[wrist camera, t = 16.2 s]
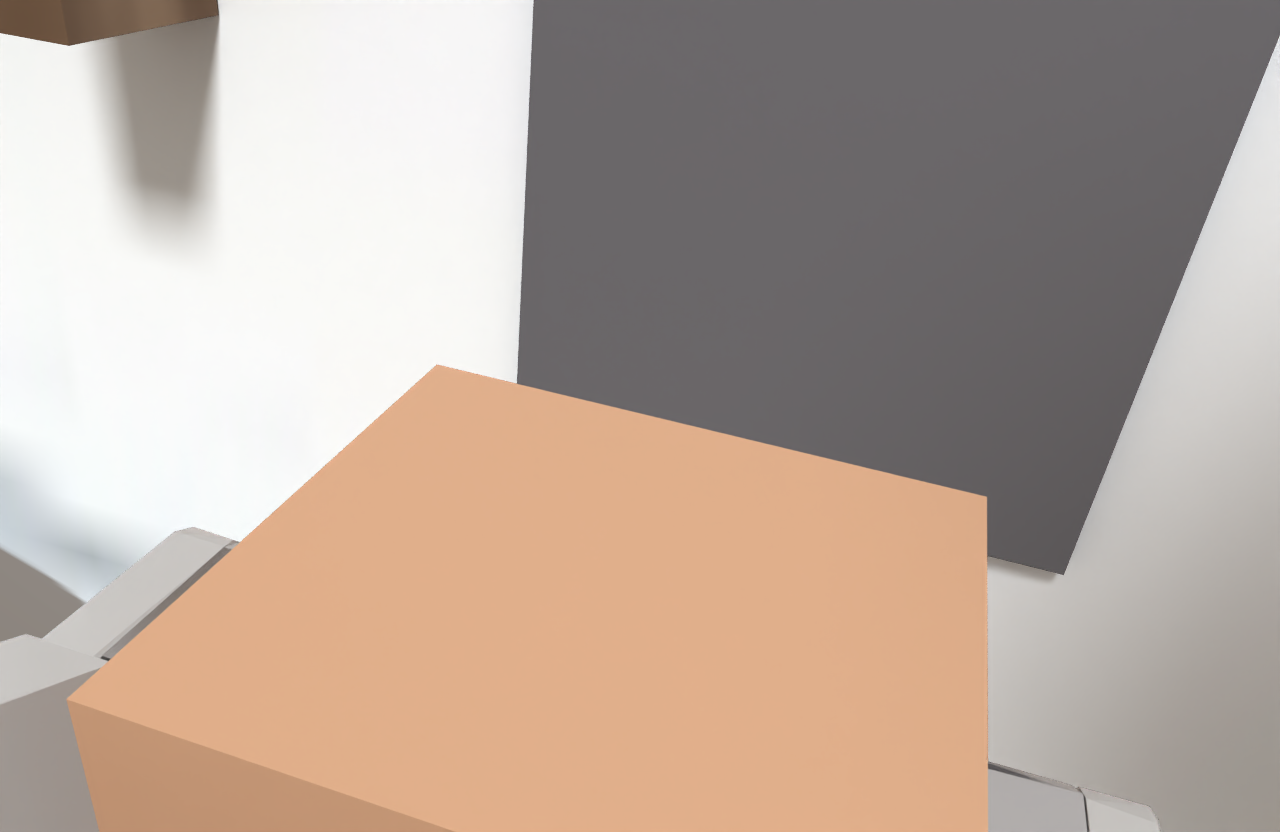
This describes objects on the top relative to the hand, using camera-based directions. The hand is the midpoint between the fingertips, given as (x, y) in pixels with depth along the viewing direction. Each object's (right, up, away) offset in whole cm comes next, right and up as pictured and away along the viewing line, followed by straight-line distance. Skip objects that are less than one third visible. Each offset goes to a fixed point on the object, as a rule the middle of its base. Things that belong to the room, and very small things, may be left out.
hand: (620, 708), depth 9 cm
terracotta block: (0, 0, +2) cm, 2 cm away
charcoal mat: (+4, +6, +11) cm, 13 cm away
